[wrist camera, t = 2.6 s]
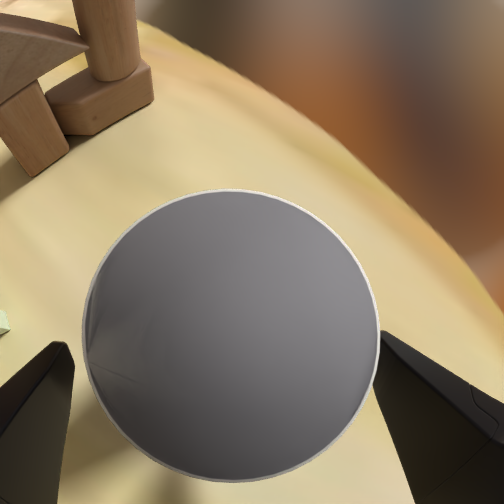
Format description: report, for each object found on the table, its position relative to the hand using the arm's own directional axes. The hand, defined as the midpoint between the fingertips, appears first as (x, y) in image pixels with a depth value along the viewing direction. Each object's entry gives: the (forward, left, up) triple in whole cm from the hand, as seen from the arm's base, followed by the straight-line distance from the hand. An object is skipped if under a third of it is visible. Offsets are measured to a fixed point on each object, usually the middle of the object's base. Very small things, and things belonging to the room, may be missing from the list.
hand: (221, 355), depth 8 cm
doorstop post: (0, 0, -8) cm, 9 cm away
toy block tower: (+18, +2, -9) cm, 20 cm away
